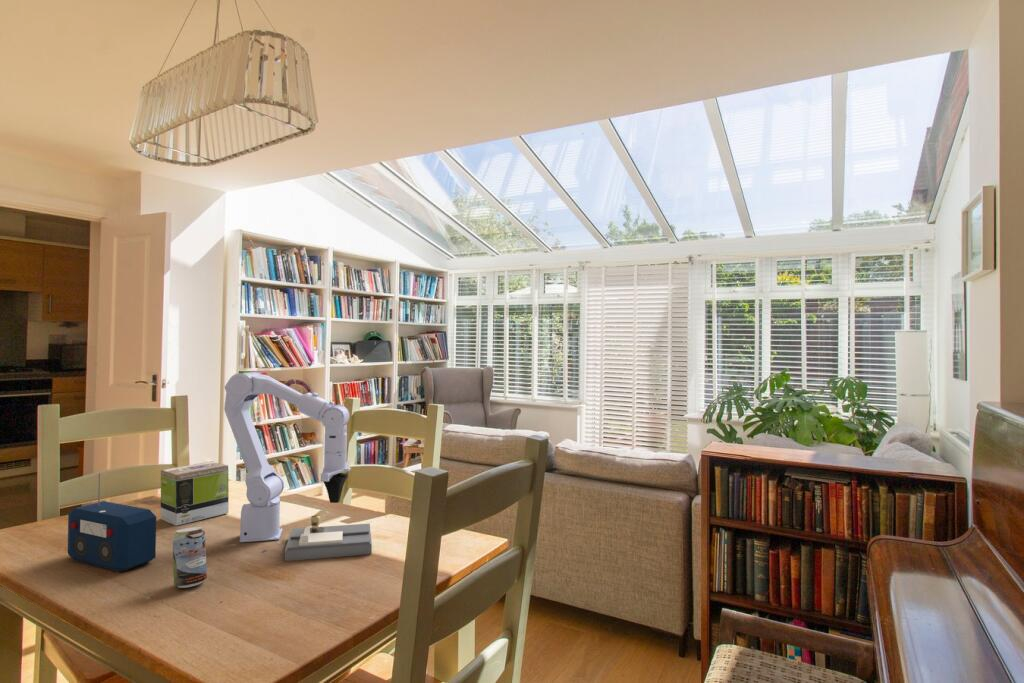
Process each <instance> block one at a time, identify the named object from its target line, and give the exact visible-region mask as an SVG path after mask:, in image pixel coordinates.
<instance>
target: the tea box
mask: <svg viewBox="0 0 1024 683" xmlns="http://www.w3.org/2000/svg"><path fill="white" fill-rule="evenodd" d="M229 490H230V489H229V465H227V464H224V463H219V462H215V461H213V460H212V461H207V462H206V461H205V462H200V463H195V464H188V465H182V466H177V467H171V468H165V469H161V470H160V519H161V520H162V521H164V522H166V523H168V524H170V525H173V526H176V527H178V526H181V525H185V524H189V523H193V522H197V521H200V520H205V519H209V518H213V517H217V516H222V515H225V514H229V511H230V510H229V506H230V505H229V501H230V500H229Z"/></svg>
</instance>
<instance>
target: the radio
mask: <svg viewBox="0 0 1024 683" xmlns="http://www.w3.org/2000/svg"><path fill="white" fill-rule="evenodd" d="M97 493H98V496H97V497H98V498H97V500H98V501H97V502H94V503H91V504H87V505H82V506H78V507H75V508H73V509H71V510H70V511H69V512H68V513H67V514H68V516H67V518H68V519H67V520H68V521H67V522H68V523H67V530H68V531H67V554H68V556H69V557H70V558H71V559H72V560H73V561H75V562H79V563H84V564H87V565H91V566H95V567H98V568H103V569H107V570H110V571H114V572H117V573H122V572H125V571H128V570H130V569H133V568H136V567H138V566H142V565H144V564H147V563H149V562H151V561H153V560H154V559H156V554H157V553H156V550H157V549H156V546H157V544H156V542H157V516H156V515H155V513H153V511H152V510H151V509H148V508H143V507H137V506H131V505H127V504H126V505H125V504H121V503H116V502H111V501H106V500H105V501H104V500H103V501H100V500H101V496H100V493H101V473H98V492H97Z"/></svg>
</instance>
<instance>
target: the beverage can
mask: <svg viewBox="0 0 1024 683" xmlns="http://www.w3.org/2000/svg"><path fill="white" fill-rule="evenodd" d="M206 545H207V544H206V532H205V531H204V529H203V526H200V525H199V526H190V527H185V528H181V529H177V530H175V534H174V535H173V536H172V560H173V562H172V563H173V568H172V569H173V585H174V586H176V587H177V588H180V589H187V588H191V587H196V586H198V585H201V584H202V583H203V582H204V581H205V580H206V579H207V576H208V575H207V573H208V572H207V551H206V550H207V547H206Z"/></svg>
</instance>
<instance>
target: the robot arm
mask: <svg viewBox="0 0 1024 683" xmlns="http://www.w3.org/2000/svg"><path fill="white" fill-rule="evenodd" d="M224 389H225V392H226V393H225V398H224V400H225V402H224V408H223V409H224V413H225V416H226V418H227V420H228V424H229V426H230V428H231V432H232V434H233V437H234V440H235V442H236V444H237V447H238V451H239V453H240V455H241V458H242V460H243V464H244V466H245V469H246V472H247V473H246V477H245V480H244V481H245V482H244V483H245V485H246V498H247V501H248V502H249V503H244V504H243V505H242V506H241V510H240V525H239V526H240V527H239V528H240V530H239V532H240V533H239V535H240V536H239V543H250V542H262V541H263V542H264V541H265V542H267V541H278V540H280V539H281V535H282V533H283V528H282V527H280V523H281V522H280V520H281V516H280V514H281V512H280V510H281V498H280V495H281V494H282V492H283V491H284V488H285V482H284V479H283V478H282V477H281V476H280V475H279V474H278V473H277V471H276V468H275V467H274V466H272V465H271V464H270V463H269V462H268V459H267V456H266V454H265V453H266V452H265V450H264V448H263V444H262V442H261V440H260V437H259V435H258V433H257V429H256V427H255V425H254V421H253V419H252V416H251V414H250V411H249V409H250V407H251V406H252V404H253V402H254V401H255V399H256V398H257V397H259V396H260V395H265V394H268V395H271V396H274V397H276V398H278V399H281V400H283V401H286V402H288V403H290V404H293V405H295V406H296V408H297V411H298V412H299V413H300V414H303V415H305V416H306V417H310V418H312V419H313V420H316V421H317V422H321V424H322V426H324V446H323V448H324V449H323V450H324V451H323V453H324V454H323V467H322V472H321V473H320V482H323V484H324V486H325V488H326V492H327V496H328V500H329V503H331V504H337V503H339V502H340V500H341V497H342V492H343V488H344V485H345V483H346V481H347V479H348V477H349V473H344V472H350V471H351V469H352V468H351V467H350V466H349V461H347V459H348V458H347V456H348V455H347V454H348V453H347V450H348V448H347V446H348V433H347V432H348V430H347V429H348V428H347V427H348V424H347V423H348V422H349V420H350V416H351V414H350V411H349V409H348V408H347V407H346V406H344V405H343V404H335V401H333V400H330V401H329V400H326V399H324V398H322V397H321V396H319V393H317V392H307V393H304V394H303V393H301V392H299V391H297V390H295V389H294V388H292V387H290V386H288V385H286V384H284V383H282V382H280V381H278V380H276V378H273V377H271V376H269V375H267V374H263V373H261V372H259V371H250V372H245V373H244V372H243V373H240V372H239V373H238V372H237V373H235V374H233V375H231V377H230V378H229V379H228V381H227V382H226V384H225V386H224Z"/></svg>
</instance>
